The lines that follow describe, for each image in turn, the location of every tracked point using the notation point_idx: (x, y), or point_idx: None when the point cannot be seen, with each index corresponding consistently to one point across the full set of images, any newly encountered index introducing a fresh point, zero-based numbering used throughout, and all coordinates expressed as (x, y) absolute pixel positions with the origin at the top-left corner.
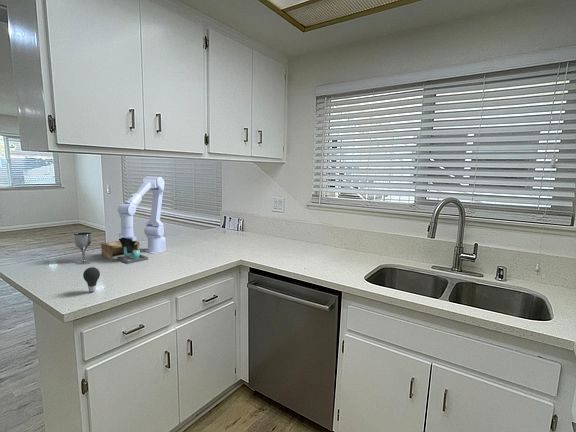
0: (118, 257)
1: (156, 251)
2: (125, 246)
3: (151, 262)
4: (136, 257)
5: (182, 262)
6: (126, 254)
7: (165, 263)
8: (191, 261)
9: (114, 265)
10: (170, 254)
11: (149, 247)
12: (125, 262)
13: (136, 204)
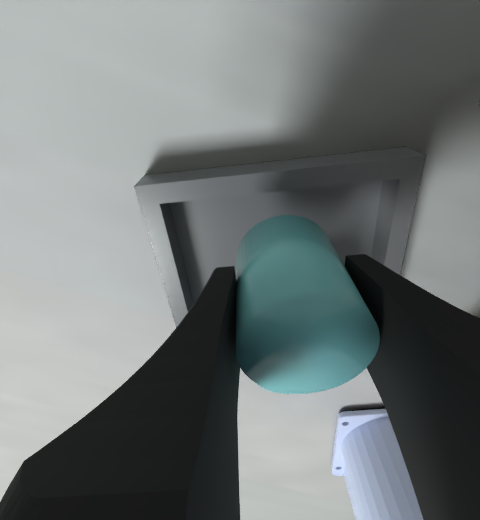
0: (391, 161)
1: (343, 442)
2: (366, 335)
3: (107, 344)
4: None
5: (27, 447)
6: (248, 242)
7: (38, 391)
8: None
9: (172, 7)
10: (244, 460)
11: (400, 456)
12: (192, 172)
13: None
